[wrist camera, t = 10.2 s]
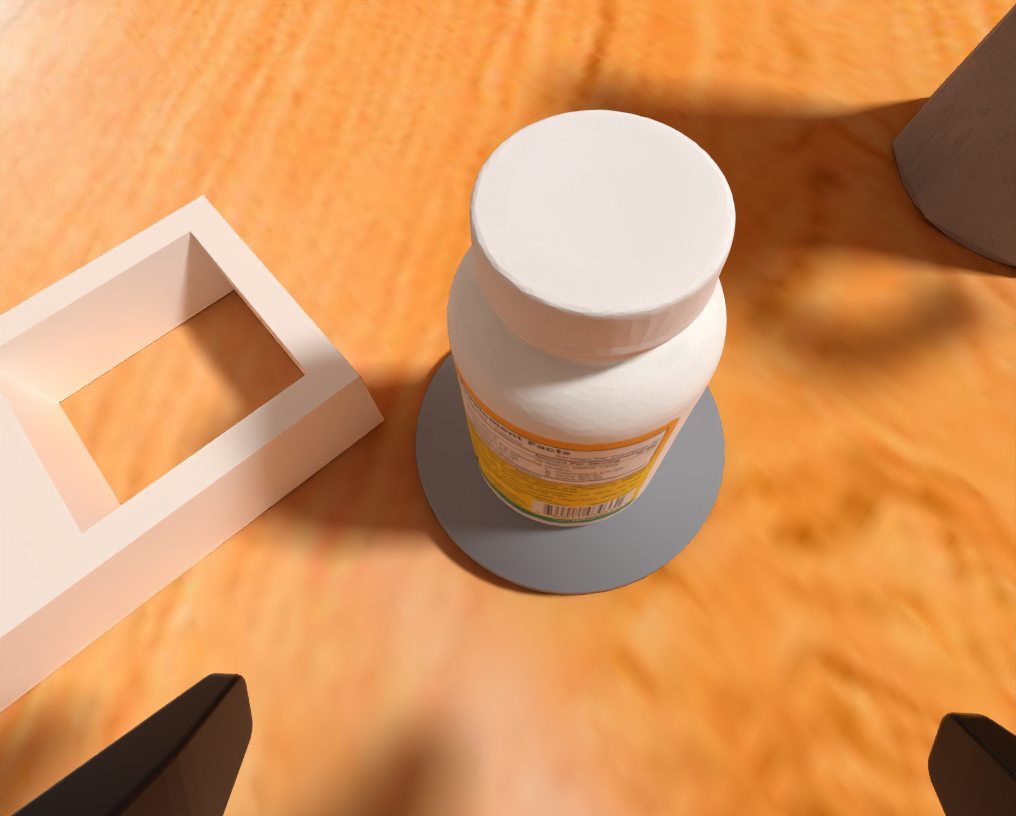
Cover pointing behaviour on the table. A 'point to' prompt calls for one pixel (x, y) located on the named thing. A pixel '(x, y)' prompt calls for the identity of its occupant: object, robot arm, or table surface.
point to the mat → (559, 549)
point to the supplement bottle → (588, 308)
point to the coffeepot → (969, 149)
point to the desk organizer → (179, 493)
